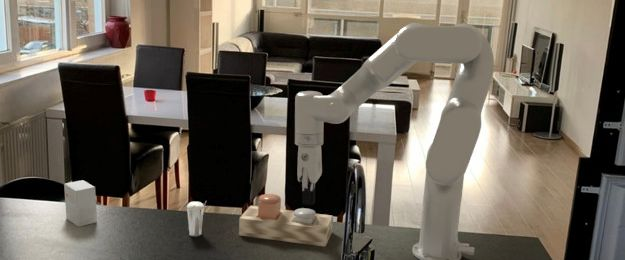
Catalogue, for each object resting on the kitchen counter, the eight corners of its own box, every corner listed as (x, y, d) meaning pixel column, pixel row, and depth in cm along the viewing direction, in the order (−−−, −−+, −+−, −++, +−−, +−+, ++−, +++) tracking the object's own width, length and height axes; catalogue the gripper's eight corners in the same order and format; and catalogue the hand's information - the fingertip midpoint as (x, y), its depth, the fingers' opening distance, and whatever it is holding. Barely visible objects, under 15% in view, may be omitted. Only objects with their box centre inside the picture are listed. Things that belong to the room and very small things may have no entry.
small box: (97, 222, 171) (95, 187, 169) (77, 227, 167) (75, 191, 165) (85, 214, 177) (83, 179, 174) (65, 218, 173) (63, 183, 171)
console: (331, 232, 172) (332, 215, 171) (325, 246, 163) (326, 229, 162) (250, 221, 177) (250, 205, 176) (239, 235, 167) (239, 218, 166)
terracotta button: (282, 214, 172) (282, 195, 171) (276, 222, 167) (277, 202, 165) (262, 212, 173) (262, 193, 172) (256, 219, 168) (256, 199, 166)
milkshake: (203, 238, 164) (203, 203, 162) (184, 236, 165) (184, 201, 163) (209, 232, 168) (209, 197, 166) (190, 230, 169) (190, 195, 167)
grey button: (316, 229, 171) (317, 209, 170) (312, 237, 165) (313, 217, 164) (296, 226, 172) (297, 207, 171) (291, 234, 166) (292, 214, 165)
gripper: (317, 146, 154) (316, 214, 159) (328, 132, 169) (327, 196, 173) (288, 144, 156) (288, 212, 160) (301, 131, 170) (301, 193, 174)
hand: (308, 203), depth 166 cm, fingers closed
